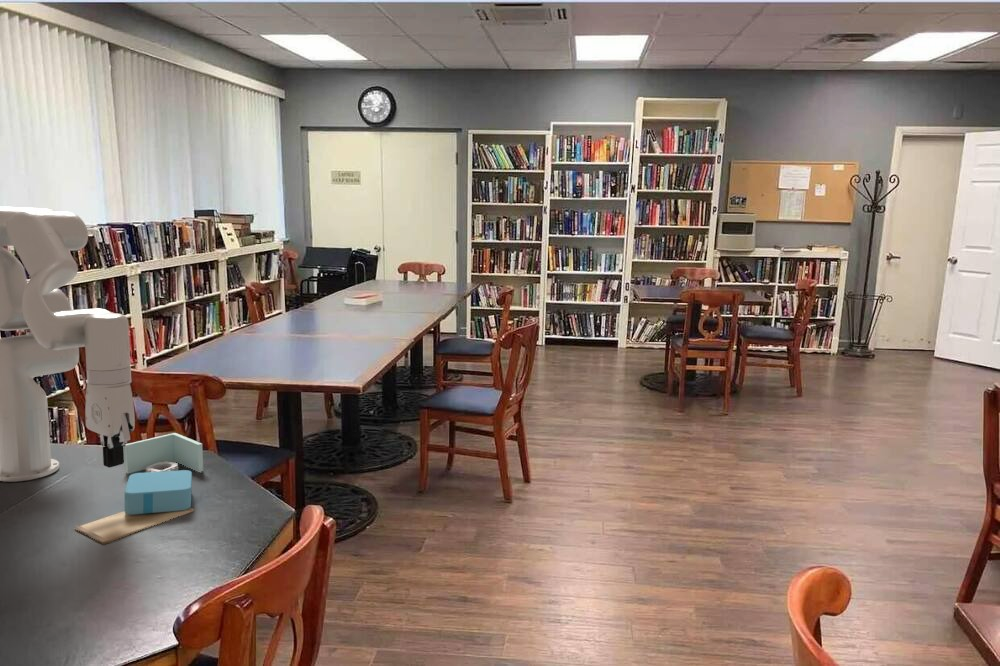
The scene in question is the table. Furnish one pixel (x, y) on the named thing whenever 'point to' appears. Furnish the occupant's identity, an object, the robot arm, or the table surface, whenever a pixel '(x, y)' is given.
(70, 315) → the robot arm
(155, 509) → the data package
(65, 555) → the table surface
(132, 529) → the wooden board
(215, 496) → the table surface
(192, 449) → the mint corner bracket
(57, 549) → the table surface
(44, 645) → the table surface
